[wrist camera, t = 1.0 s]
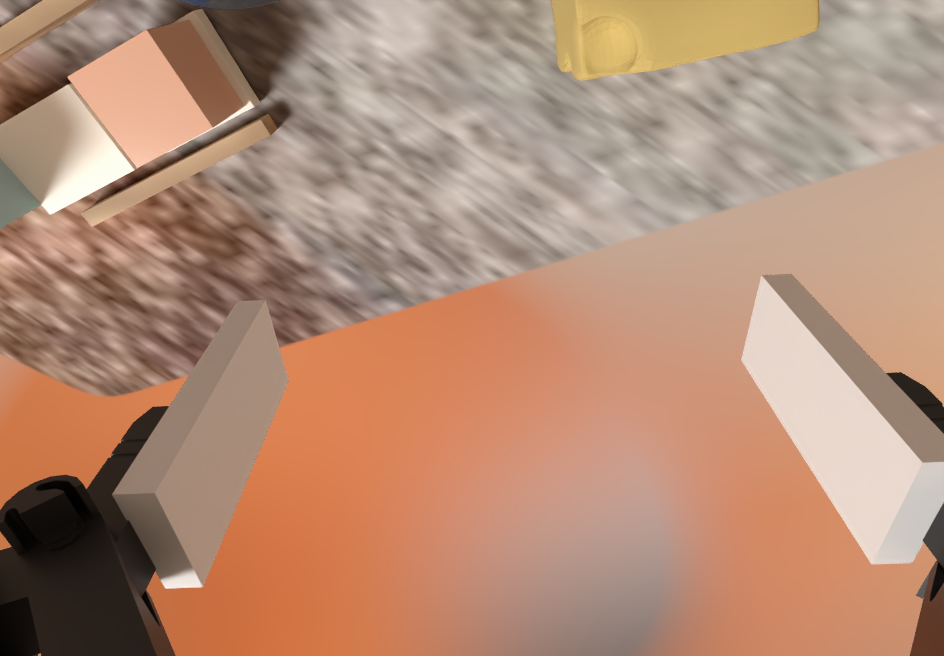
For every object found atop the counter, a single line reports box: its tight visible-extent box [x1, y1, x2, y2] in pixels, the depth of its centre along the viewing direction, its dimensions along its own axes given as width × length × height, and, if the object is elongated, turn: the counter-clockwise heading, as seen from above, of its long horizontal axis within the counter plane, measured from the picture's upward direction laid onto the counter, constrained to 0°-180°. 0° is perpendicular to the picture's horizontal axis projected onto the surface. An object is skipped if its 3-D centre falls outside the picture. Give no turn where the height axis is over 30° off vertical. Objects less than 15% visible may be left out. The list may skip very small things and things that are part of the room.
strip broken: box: [0, 9, 260, 229], centre depth 33 cm, size 6×20×10 cm, turn 115°
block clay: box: [68, 20, 245, 168], centre depth 32 cm, size 5×5×5 cm
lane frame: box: [0, 0, 278, 227], centre depth 33 cm, size 21×14×2 cm, turn 25°
